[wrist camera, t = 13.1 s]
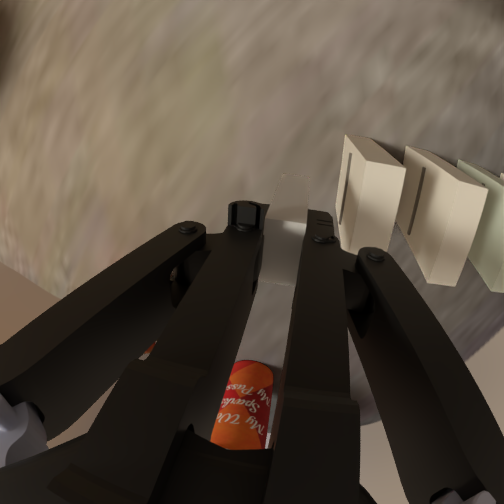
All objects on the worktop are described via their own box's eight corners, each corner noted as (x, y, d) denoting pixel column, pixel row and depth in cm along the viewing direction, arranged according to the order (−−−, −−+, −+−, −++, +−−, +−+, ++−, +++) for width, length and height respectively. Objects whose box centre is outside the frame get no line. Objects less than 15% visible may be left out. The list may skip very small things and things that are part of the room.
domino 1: (343, 133, 21) (363, 160, 13) (370, 138, 21) (406, 168, 12) (333, 205, 24) (341, 271, 16) (358, 209, 24) (379, 276, 15)
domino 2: (404, 145, 21) (456, 180, 12) (427, 150, 20) (488, 189, 12) (390, 214, 24) (425, 282, 15) (413, 218, 23) (455, 286, 15)
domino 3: (456, 158, 20) (523, 200, 11) (476, 164, 20) (544, 208, 11) (441, 224, 23) (489, 291, 14) (460, 228, 23) (510, 293, 14)
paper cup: (282, 357, 34) (262, 466, 22) (281, 393, 38) (263, 487, 26) (217, 350, 35) (179, 450, 24) (224, 386, 39) (195, 474, 27)
